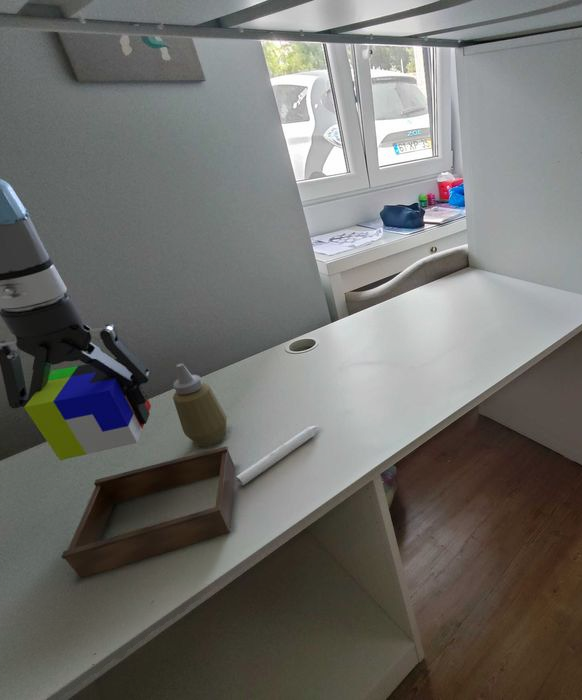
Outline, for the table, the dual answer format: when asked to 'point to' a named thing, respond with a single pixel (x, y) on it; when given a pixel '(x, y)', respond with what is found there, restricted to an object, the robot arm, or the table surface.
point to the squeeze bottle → (198, 409)
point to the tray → (136, 545)
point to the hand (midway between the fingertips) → (106, 427)
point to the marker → (276, 455)
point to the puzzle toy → (84, 412)
